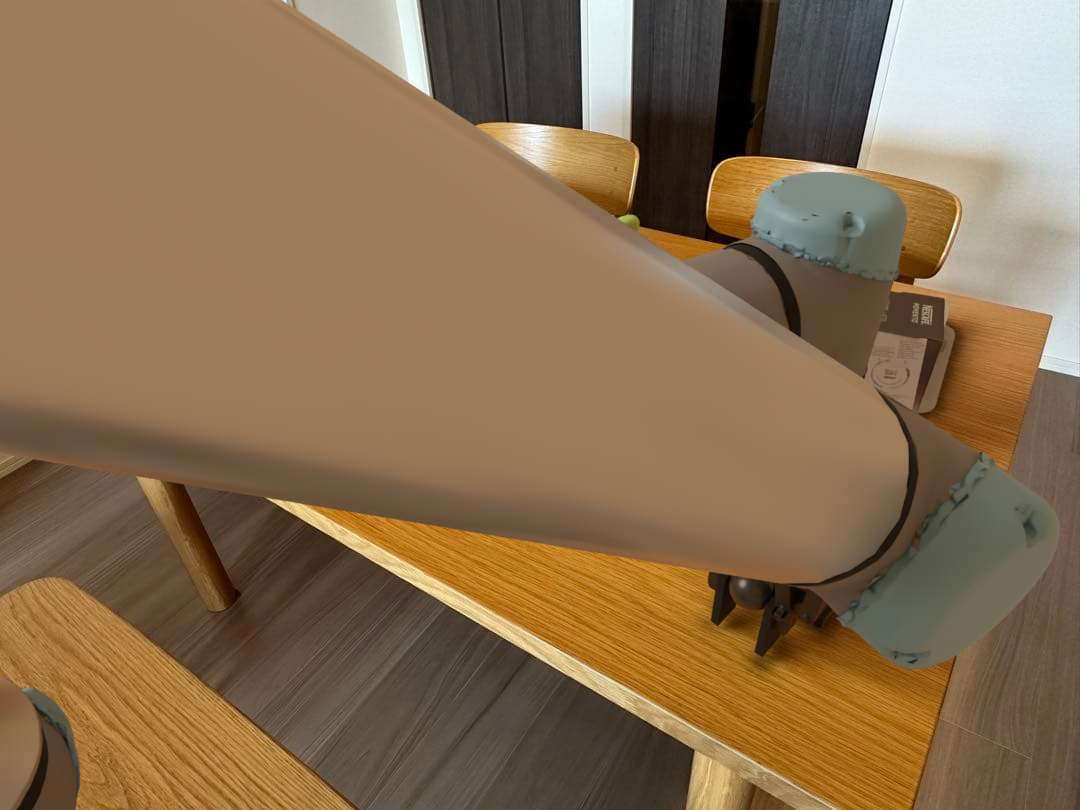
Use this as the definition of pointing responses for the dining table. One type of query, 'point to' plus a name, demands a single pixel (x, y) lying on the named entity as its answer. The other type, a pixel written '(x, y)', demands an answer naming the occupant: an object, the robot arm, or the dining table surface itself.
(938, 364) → the white open box
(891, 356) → the coffee box
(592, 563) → the dining table surface
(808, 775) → the dining table surface
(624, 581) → the dining table surface
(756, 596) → the lever
